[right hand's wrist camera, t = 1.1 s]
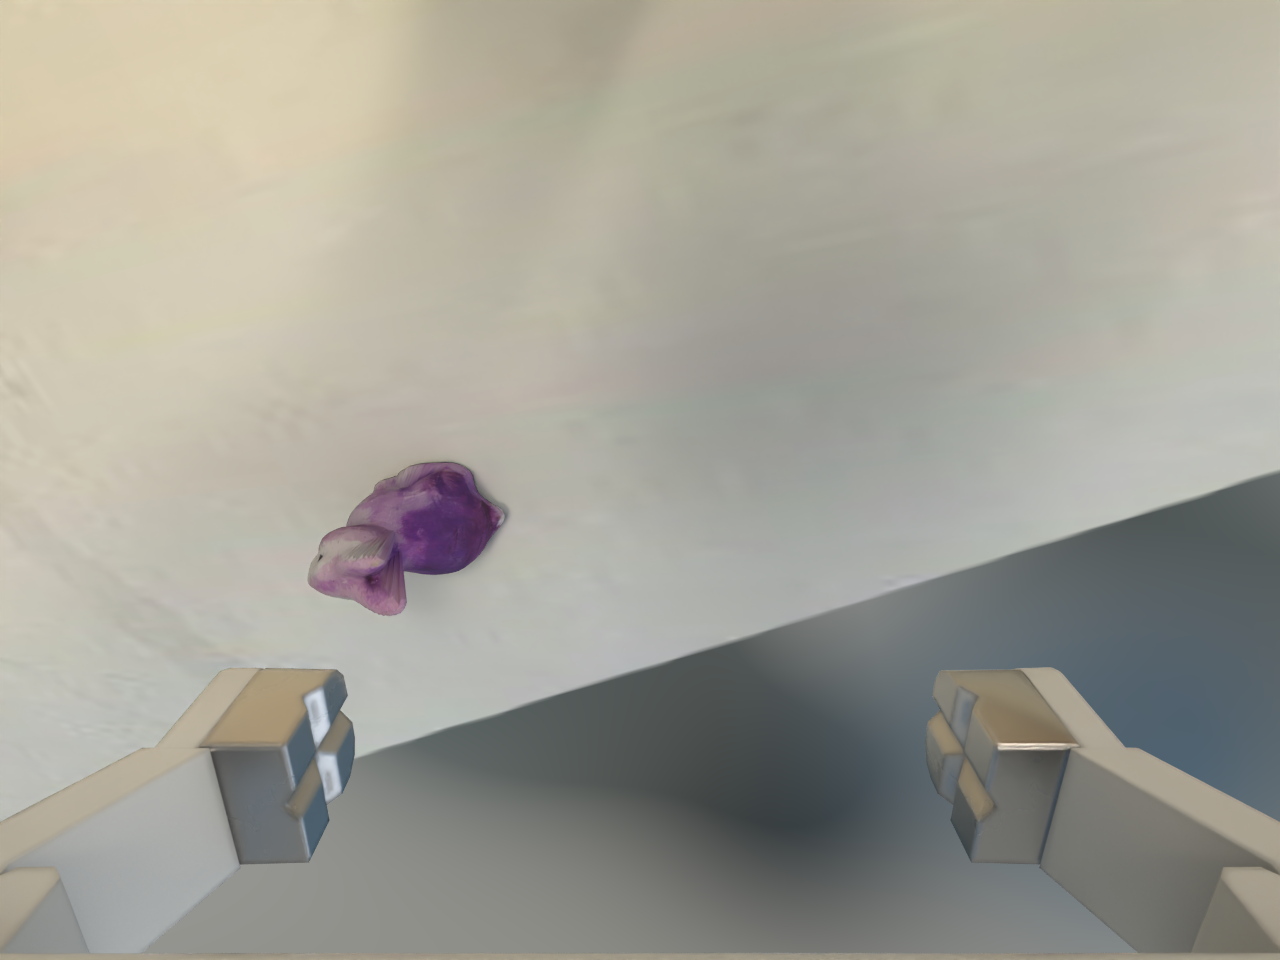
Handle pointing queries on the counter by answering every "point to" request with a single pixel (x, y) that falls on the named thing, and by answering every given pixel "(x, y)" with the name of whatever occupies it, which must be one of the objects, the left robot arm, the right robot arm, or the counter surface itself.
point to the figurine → (405, 536)
